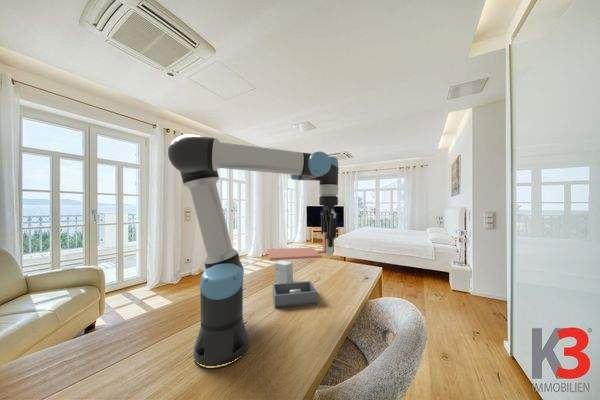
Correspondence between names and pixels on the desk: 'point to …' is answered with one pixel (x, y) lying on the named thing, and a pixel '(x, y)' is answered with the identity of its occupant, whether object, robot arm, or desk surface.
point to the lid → (297, 252)
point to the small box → (283, 272)
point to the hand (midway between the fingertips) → (328, 253)
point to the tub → (294, 294)
